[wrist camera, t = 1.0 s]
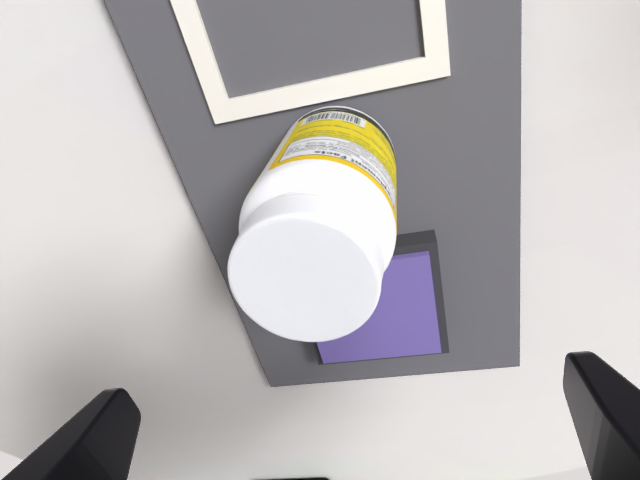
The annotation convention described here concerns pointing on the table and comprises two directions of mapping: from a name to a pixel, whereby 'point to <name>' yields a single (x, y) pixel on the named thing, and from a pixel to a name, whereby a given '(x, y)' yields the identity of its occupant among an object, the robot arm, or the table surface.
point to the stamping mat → (404, 132)
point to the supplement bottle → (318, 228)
